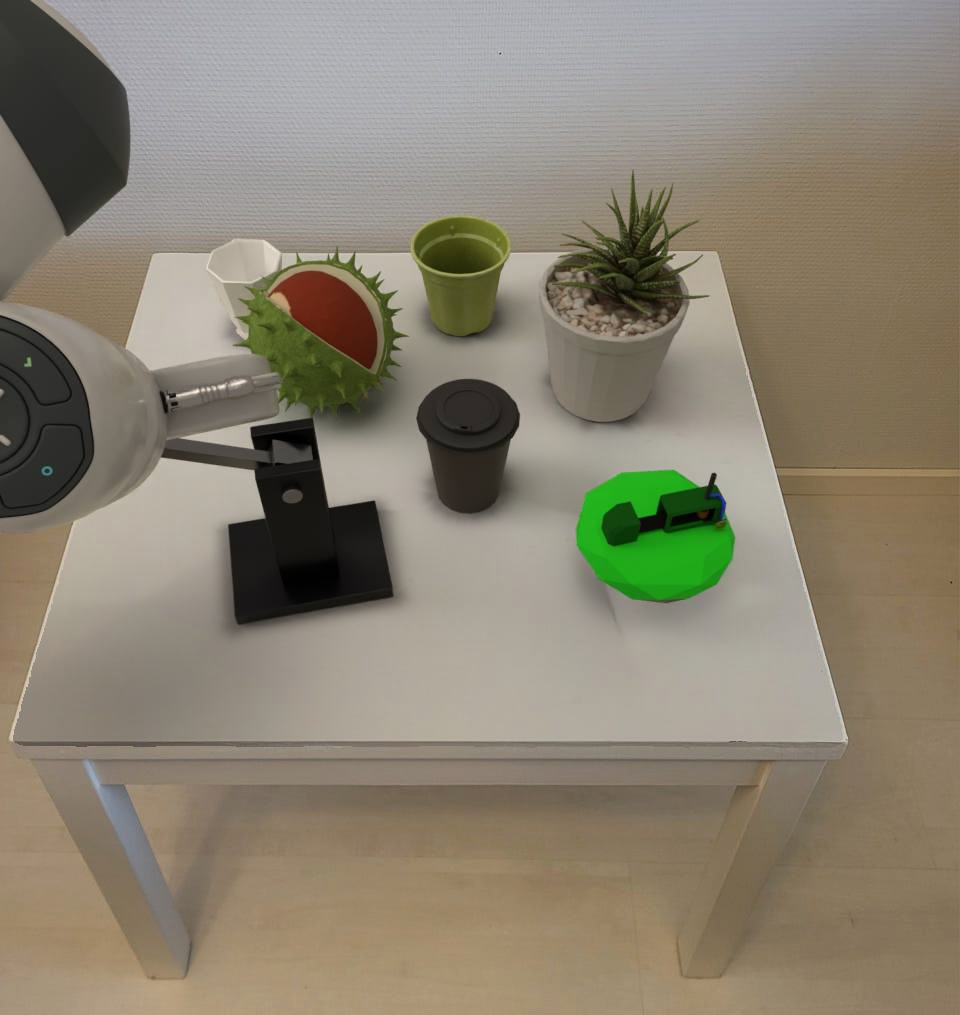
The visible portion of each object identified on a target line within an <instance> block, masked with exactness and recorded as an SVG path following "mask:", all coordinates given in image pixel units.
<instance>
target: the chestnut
mask: <svg viewBox="0 0 960 1015" xmlns="http://www.w3.org/2000/svg"><path fill="white" fill-rule="evenodd" d="M295 254H296V263H295V264H292V265H288V266H286V267H284V268H282V270H281V271H279V272H278V273H276V275H275V276H274V277H273V279H272V280H271V281H269V280H267V279H265V278H264V277H263V276H261V277H262V278H263V280H264V281H265V283H266V284H267V286H266V288H265V289H264V290H263V289H253V288H250V287H246V286H244V287H245V288H247V289H248V290H249V291H250V292H251V293H252V294H253V295H254V296H255V298H254V299H253V300H243V299H240V298H238V299H239V300H241V301H242V302H243V303H245V304H246V305H247V306H248V307H249V308H247V309H249V310H251V313H250V315H248V316H239V317H235V318H238V319H240V320H242V322H243V323H245V324H247V325H249V335H248V338H247V339H246V340H244V341H241V342H239V343H235V344H232V346H233V347H244V348H247V349H249V350H250V352H251V354H258V355H262V356H264V357H266V358H267V360H268V362H269V366H270V369H271V373H276V372H277V373H279V377H281V378H282V383H281V385H282V387H281V388H280V389H277V390H276V392H278V396H277V399H278V403H279V404H280V403H281V402H282V401H284V400H285V399H286V407H285V409H284V413H286V412H287V411H288V410H289V409H290V407H291V406H292V405H293V404H294V406H296V405H297V404H298V403H301V404H304V405H306V406H307V407H308V411H309V418H313V416H314V414H315V411H316V409H317V408H318V407H319V410H320V414H321V415H322V414H323V413H324V409H325V407H329V408H330V409H331V410H332V412H333V414H334V417H335V420H336V421H337V420H338V408H339V405H341V404H343V405H344V406H345V407H346V408H347V403H349V404H350V405H351V406H352V407H353V408H354V409H355V410H356V411H357V412H358V414H359V415H361V411H360V406H359V403H358V402H359V398H360V397H361V398H362V399H363V401H364V402H365V403H367V402H368V401H367V400H369V395H368V393H367V391H369V390H370V389H371V388H372V387H374V388H376V389H379V391H381V392H384V390H383V389H382V388H381V386H380V384H381V385H383V382H382V381H381V380H380V378H383V377H385V378H388V379H392V380H393V381H398V379H396V377H394V376H393V375H392V374H391V373H390V372H389V371H388V369H387V367H389V366H392V367H393V366H394V367H398V368H403V366H402V365H400V364H399V363H397V362H396V361H394V360H393V358H392V357H391V353H392V352H393V351H394V352H395V351H403V349H402V348H400V347H399V346H396V345H395V344H394V342H395V340H396V339H401V338H408V337H410V335H407V334H405V333H402V332H399V331H397V330H395V328H394V322H393V320H392V317H395V316H397V315H398V314H397V312H400V311H402V310H403V309H404V308H403V307H399V308H390V307H388V306H389V305H388V304H389V301H390V299H392V297H393V296H394V295H395V294H397V292H399V290H398V289H397V290H394V291H391V292H388V293H383V292H380V290H379V288H380V286H381V285H382V284H383V282H385V279H384V278H383V279H382V280H379V281H378V279H379V277H380V275H381V273H382V271H381V270H379V272H378V273H377V274H376V275H373V276H372V277H367V276H366V275H364V273H362V268H363V265H360V267H359V268H358V269H357V268H356V265H355V263H356V250H354V252H353V254H352V256H351V257H350V259H349V260H348V261H347V262H345V263H344V262H342V261H340V256H339V245H336V248H335V253H334V254H333V257H332V258H331V257H330V253H329V252H328V253H327V258H326V260H320V259H319V260H304V261H302V259H301V258H300V256H299V253H298V252H297V251H296V253H295ZM377 281H378V282H377Z"/></svg>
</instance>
